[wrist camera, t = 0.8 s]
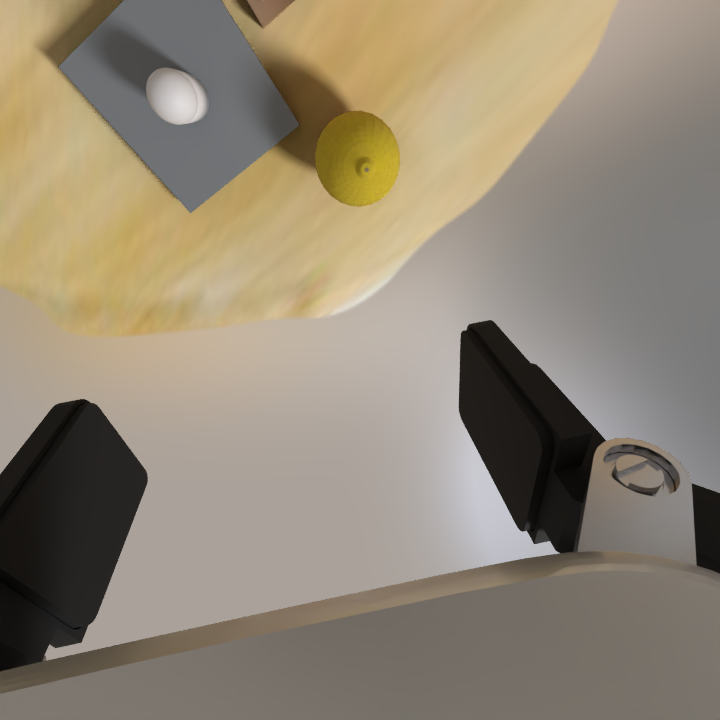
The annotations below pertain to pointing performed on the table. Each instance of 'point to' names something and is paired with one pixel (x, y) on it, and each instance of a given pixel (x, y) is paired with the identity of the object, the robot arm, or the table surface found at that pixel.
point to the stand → (268, 9)
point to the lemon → (357, 158)
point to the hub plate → (201, 54)
